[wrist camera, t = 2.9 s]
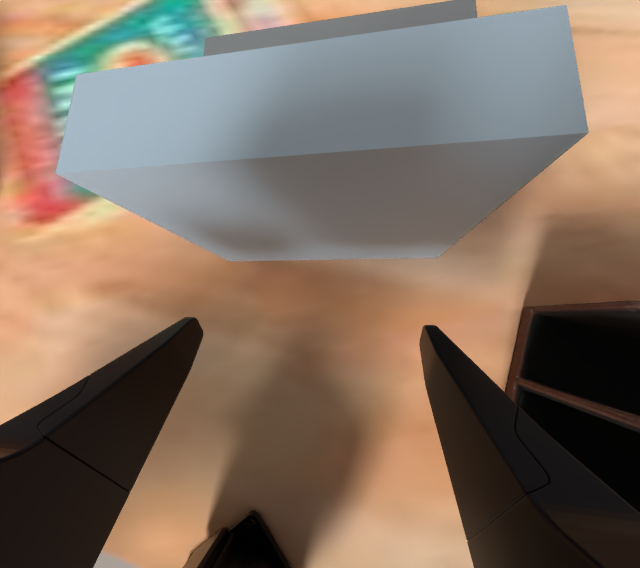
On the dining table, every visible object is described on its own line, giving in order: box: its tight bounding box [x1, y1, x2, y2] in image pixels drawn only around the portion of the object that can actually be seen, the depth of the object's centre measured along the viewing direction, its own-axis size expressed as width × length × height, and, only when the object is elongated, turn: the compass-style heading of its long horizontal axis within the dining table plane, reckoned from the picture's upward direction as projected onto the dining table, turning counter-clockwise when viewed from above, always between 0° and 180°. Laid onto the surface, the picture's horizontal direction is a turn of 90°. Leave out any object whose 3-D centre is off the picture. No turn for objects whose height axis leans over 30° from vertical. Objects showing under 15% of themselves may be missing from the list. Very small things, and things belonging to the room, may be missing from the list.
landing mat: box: [204, 0, 477, 56], centre depth 21 cm, size 16×24×1 cm, turn 89°
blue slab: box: [56, 5, 589, 261], centre depth 14 cm, size 4×16×12 cm, turn 89°
